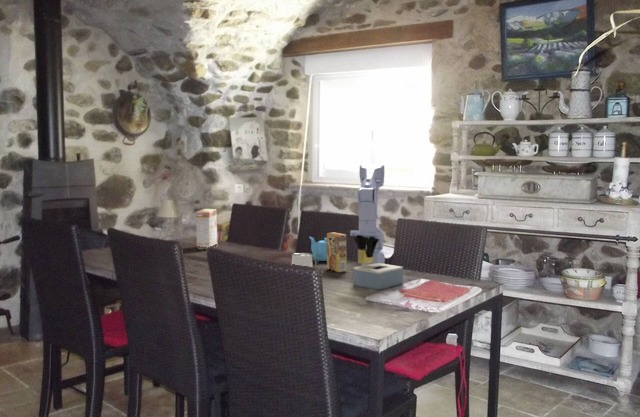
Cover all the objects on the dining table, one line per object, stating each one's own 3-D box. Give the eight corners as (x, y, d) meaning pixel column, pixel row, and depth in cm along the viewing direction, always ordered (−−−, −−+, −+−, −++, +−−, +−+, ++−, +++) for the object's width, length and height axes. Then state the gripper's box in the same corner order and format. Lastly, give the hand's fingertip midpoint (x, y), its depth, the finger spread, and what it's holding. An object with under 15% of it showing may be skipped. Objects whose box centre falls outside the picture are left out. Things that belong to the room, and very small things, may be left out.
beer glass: (291, 297, 207) (291, 253, 206) (312, 296, 208) (311, 252, 206) (292, 302, 200) (292, 256, 199) (313, 301, 201) (313, 256, 200)
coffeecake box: (204, 245, 322) (203, 208, 320) (217, 246, 321) (217, 208, 319) (196, 250, 307) (195, 211, 305) (209, 250, 306) (209, 211, 304)
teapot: (340, 257, 286) (340, 235, 285) (346, 262, 271) (346, 239, 270) (309, 258, 284) (308, 236, 283) (313, 263, 269) (313, 240, 268)
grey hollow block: (377, 279, 235) (377, 262, 235) (402, 284, 227) (402, 266, 226) (353, 285, 225) (353, 267, 225) (378, 290, 217) (379, 272, 216)
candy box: (347, 271, 252) (347, 234, 250) (338, 272, 249) (338, 235, 248) (334, 268, 259) (334, 232, 258) (326, 269, 257) (326, 232, 255)
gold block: (366, 261, 231) (366, 247, 230) (372, 262, 229) (372, 248, 228) (357, 262, 227) (357, 249, 227) (364, 263, 225) (364, 250, 225)
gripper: (344, 219, 229) (344, 255, 231) (374, 222, 219) (374, 260, 220) (357, 218, 234) (357, 253, 235) (387, 221, 224) (386, 257, 225)
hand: (366, 256), depth 228 cm, fingers closed on gold block, 3 cm apart
